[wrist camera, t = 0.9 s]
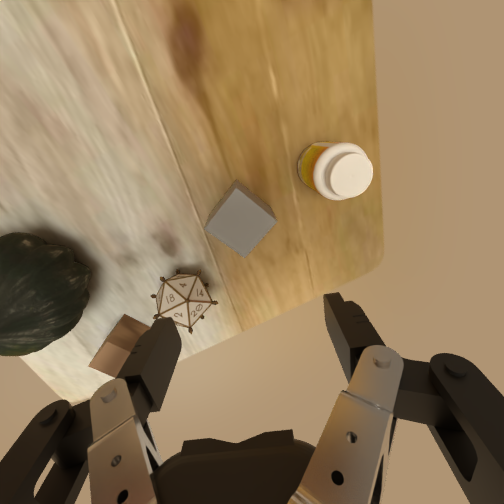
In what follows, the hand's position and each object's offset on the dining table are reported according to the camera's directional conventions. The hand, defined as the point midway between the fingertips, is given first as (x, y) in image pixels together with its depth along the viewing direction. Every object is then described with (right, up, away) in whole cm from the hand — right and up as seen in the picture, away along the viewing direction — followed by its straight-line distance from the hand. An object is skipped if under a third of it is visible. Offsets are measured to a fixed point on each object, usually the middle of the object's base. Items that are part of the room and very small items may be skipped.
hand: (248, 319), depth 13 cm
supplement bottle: (+9, +15, +19) cm, 25 cm away
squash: (-29, +1, +23) cm, 37 cm away
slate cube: (-1, +9, +21) cm, 23 cm away
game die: (-10, -1, +25) cm, 27 cm away
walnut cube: (-20, -10, +29) cm, 36 cm away
